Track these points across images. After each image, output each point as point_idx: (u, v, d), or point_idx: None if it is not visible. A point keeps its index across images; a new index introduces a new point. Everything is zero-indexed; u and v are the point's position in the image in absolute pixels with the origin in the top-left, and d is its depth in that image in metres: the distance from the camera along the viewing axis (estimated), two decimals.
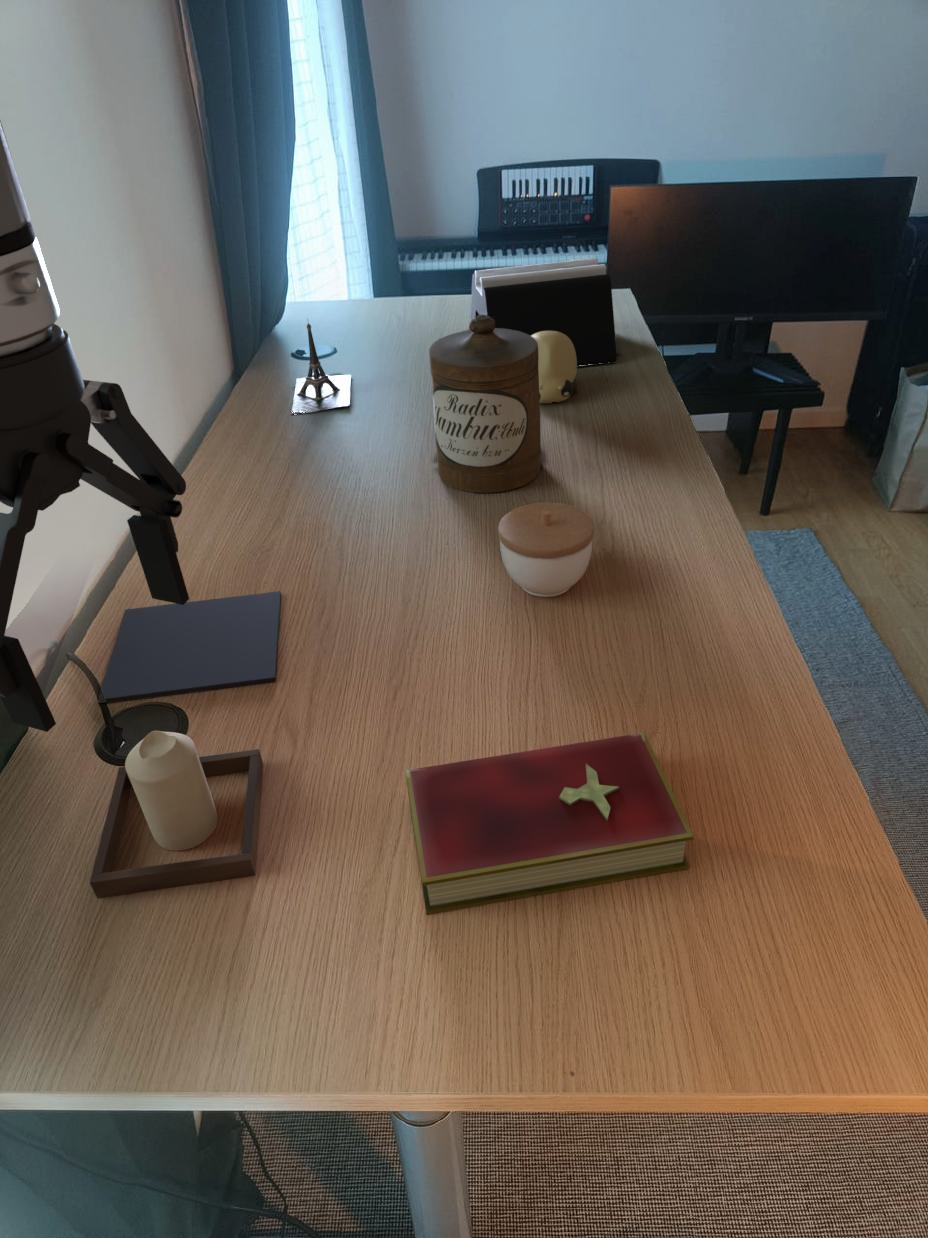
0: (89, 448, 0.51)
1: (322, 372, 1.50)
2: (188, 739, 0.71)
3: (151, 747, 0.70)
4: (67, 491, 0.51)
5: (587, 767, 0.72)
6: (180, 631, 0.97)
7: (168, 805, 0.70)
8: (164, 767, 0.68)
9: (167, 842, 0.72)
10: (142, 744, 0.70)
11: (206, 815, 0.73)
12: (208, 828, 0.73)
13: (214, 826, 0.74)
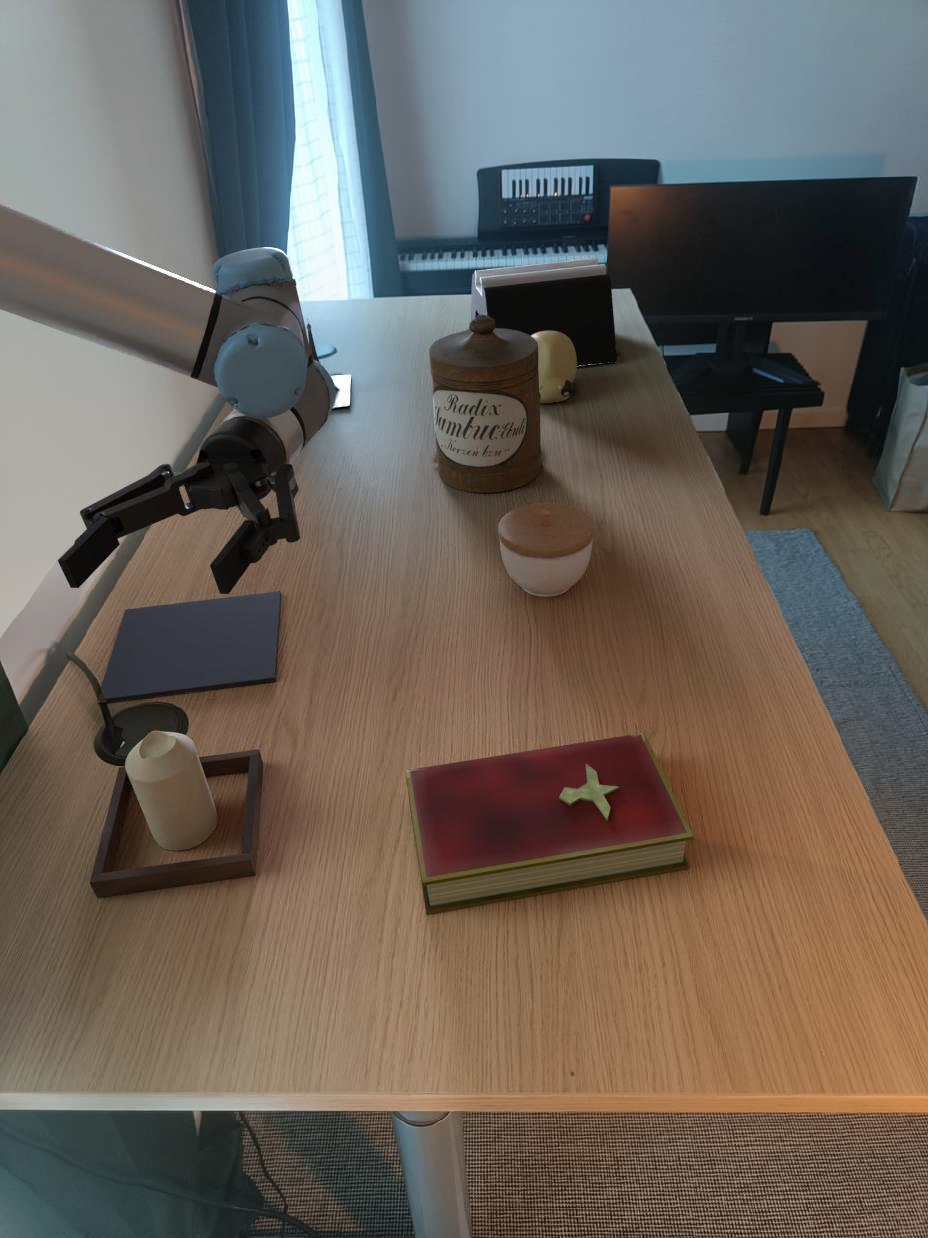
0: None
1: None
2: (188, 739, 0.71)
3: (151, 747, 0.70)
4: (207, 508, 0.78)
5: (587, 767, 0.72)
6: (180, 631, 0.97)
7: (168, 805, 0.70)
8: (164, 767, 0.68)
9: (167, 842, 0.72)
10: (142, 744, 0.70)
11: (206, 815, 0.73)
12: (208, 828, 0.73)
13: (214, 826, 0.74)
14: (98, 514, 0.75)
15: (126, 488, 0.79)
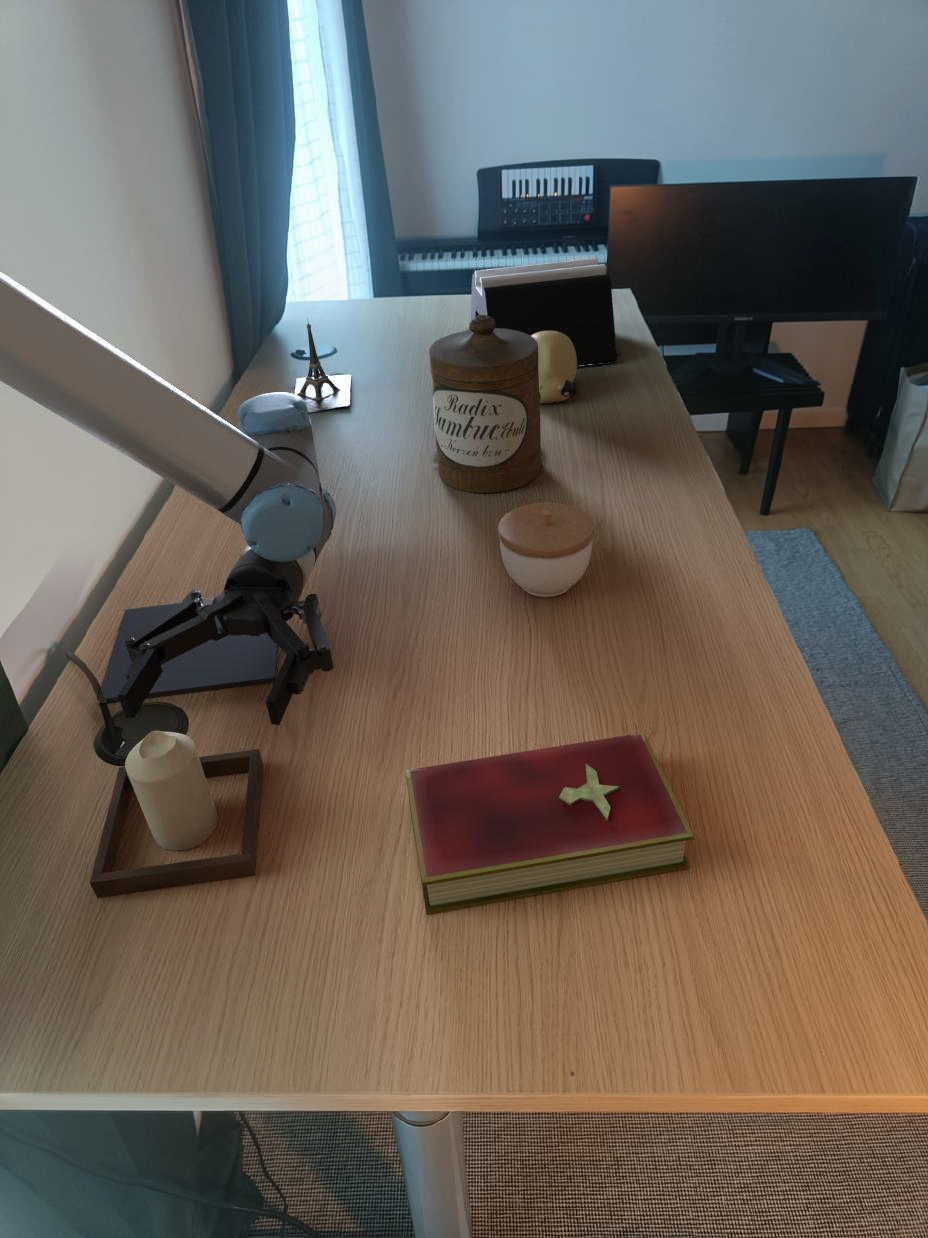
0: None
1: (322, 372, 1.50)
2: (188, 739, 0.71)
3: (151, 747, 0.70)
4: (240, 634, 0.87)
5: (587, 767, 0.72)
6: None
7: (168, 805, 0.70)
8: (164, 767, 0.68)
9: (167, 842, 0.72)
10: (142, 744, 0.70)
11: (206, 815, 0.73)
12: (208, 828, 0.73)
13: (214, 826, 0.74)
14: (144, 645, 0.82)
15: (163, 616, 0.86)
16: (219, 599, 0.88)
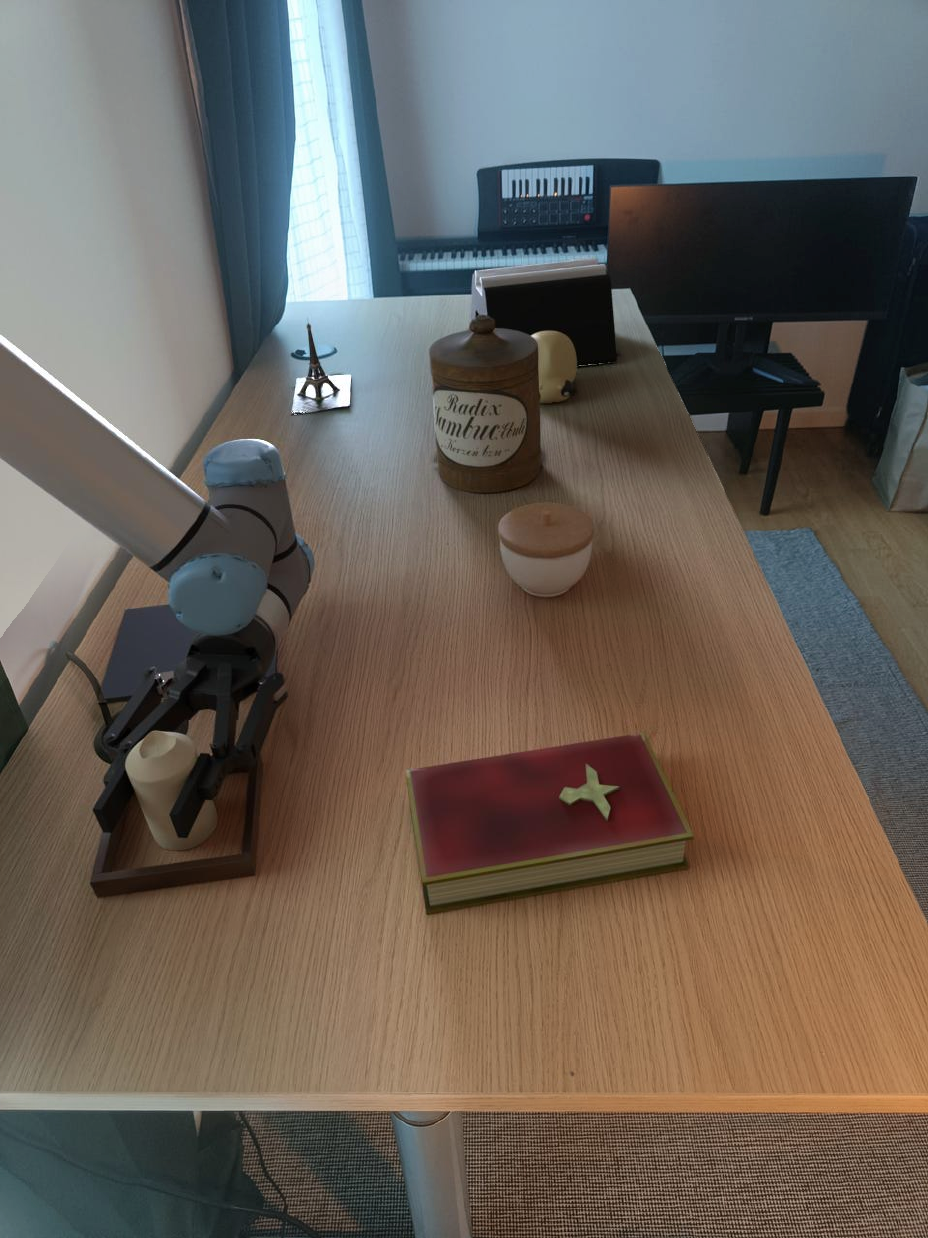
0: None
1: (322, 372, 1.50)
2: (188, 739, 0.71)
3: (151, 747, 0.70)
4: (203, 709, 0.79)
5: (587, 767, 0.72)
6: (180, 631, 0.97)
7: (168, 805, 0.70)
8: (164, 767, 0.68)
9: (167, 842, 0.72)
10: (142, 744, 0.70)
11: (206, 815, 0.73)
12: (208, 828, 0.73)
13: (214, 826, 0.74)
14: (125, 744, 0.72)
15: (131, 703, 0.77)
16: (181, 669, 0.80)
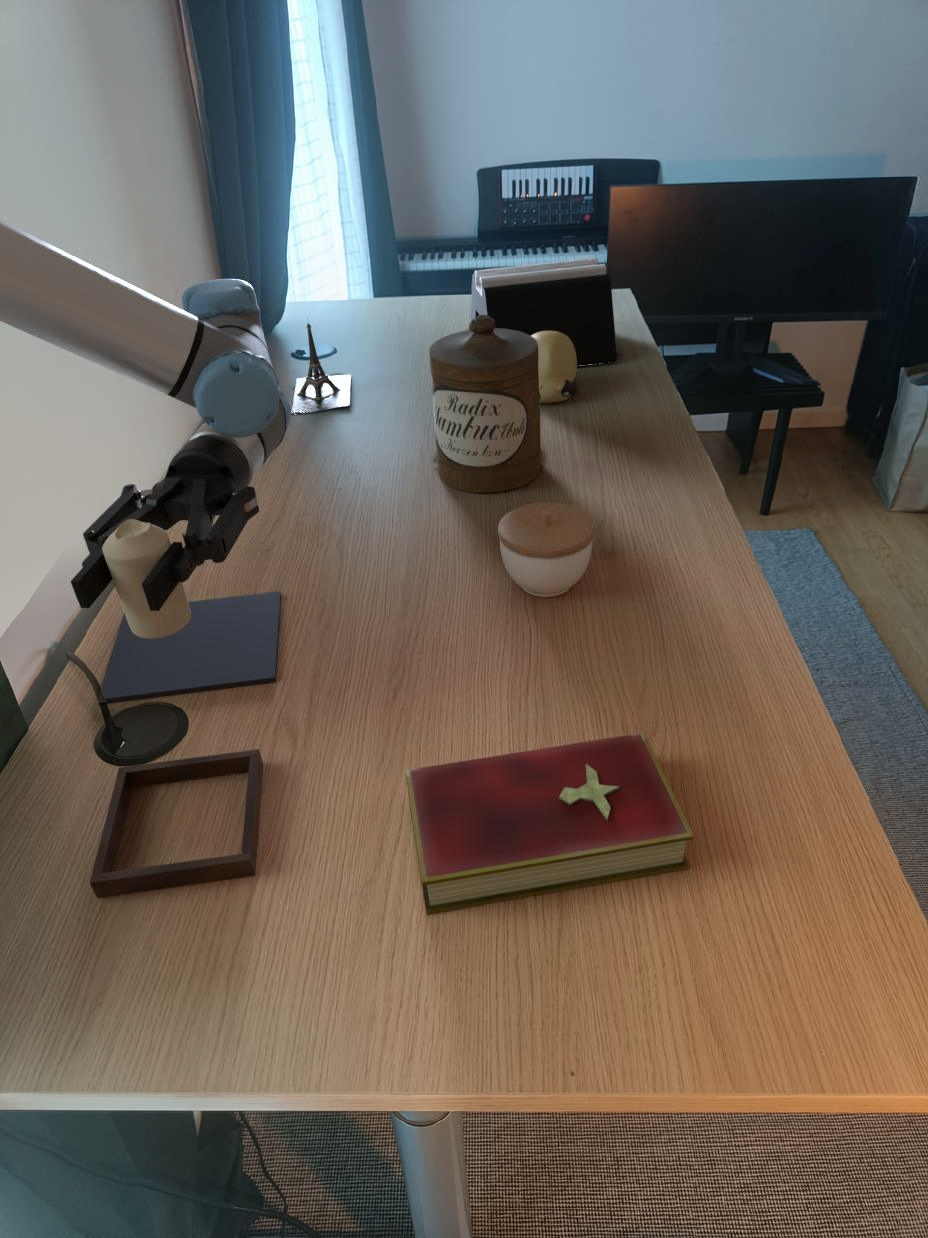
0: None
1: (322, 372, 1.50)
2: (162, 529, 0.76)
3: (127, 533, 0.75)
4: (179, 520, 0.84)
5: (587, 767, 0.72)
6: (180, 631, 0.97)
7: None
8: (138, 546, 0.73)
9: (142, 629, 0.77)
10: (118, 529, 0.75)
11: (179, 605, 0.78)
12: (181, 619, 0.78)
13: (187, 620, 0.79)
14: (104, 536, 0.77)
15: (111, 509, 0.82)
16: (159, 485, 0.85)
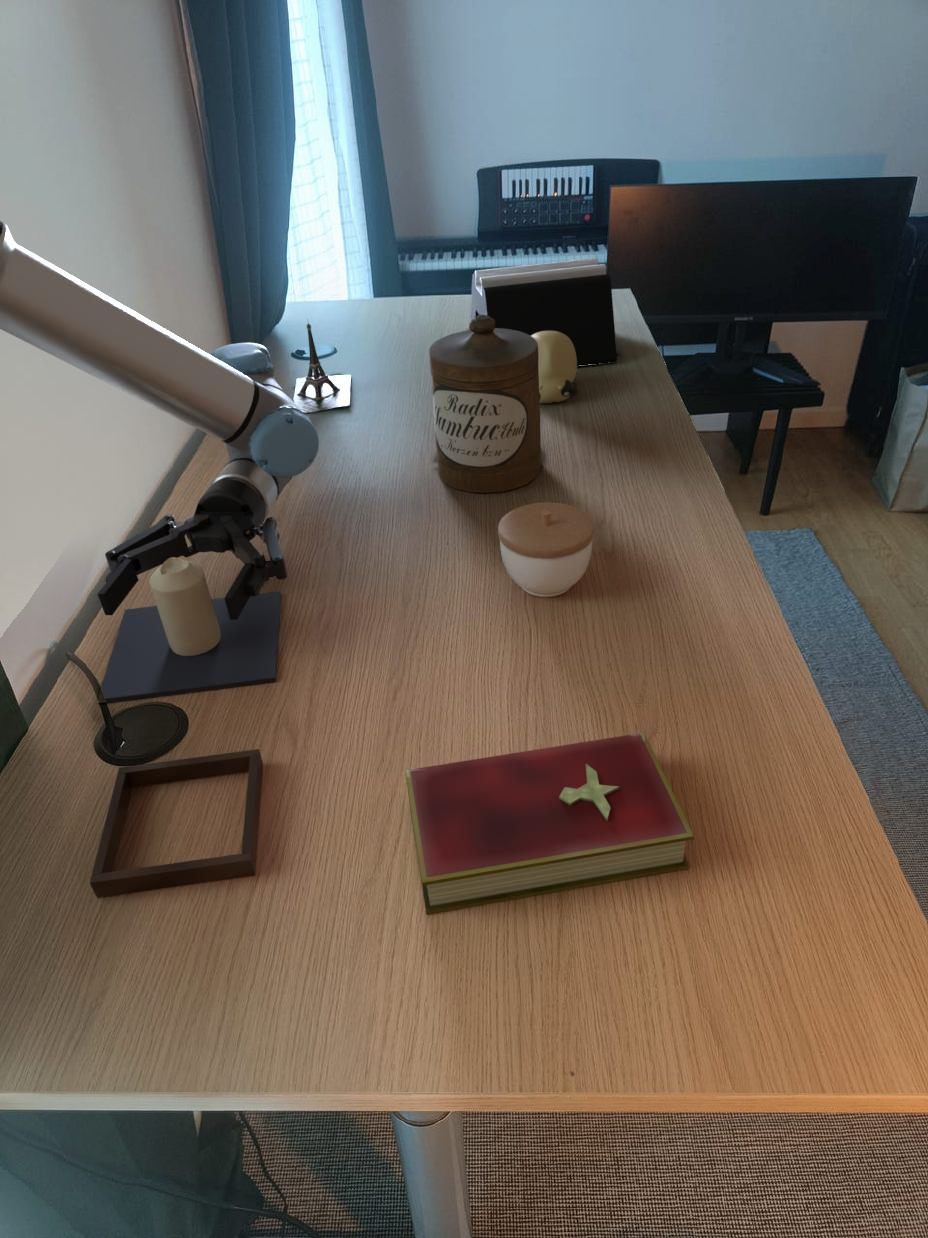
0: None
1: (322, 372, 1.50)
2: (198, 565, 0.91)
3: (170, 569, 0.90)
4: (207, 551, 0.99)
5: (587, 767, 0.72)
6: None
7: (183, 613, 0.90)
8: (180, 581, 0.88)
9: (181, 648, 0.93)
10: (162, 566, 0.90)
11: (211, 627, 0.93)
12: (213, 639, 0.94)
13: (218, 640, 0.95)
14: (122, 556, 0.94)
15: (140, 535, 0.98)
16: (189, 521, 1.00)
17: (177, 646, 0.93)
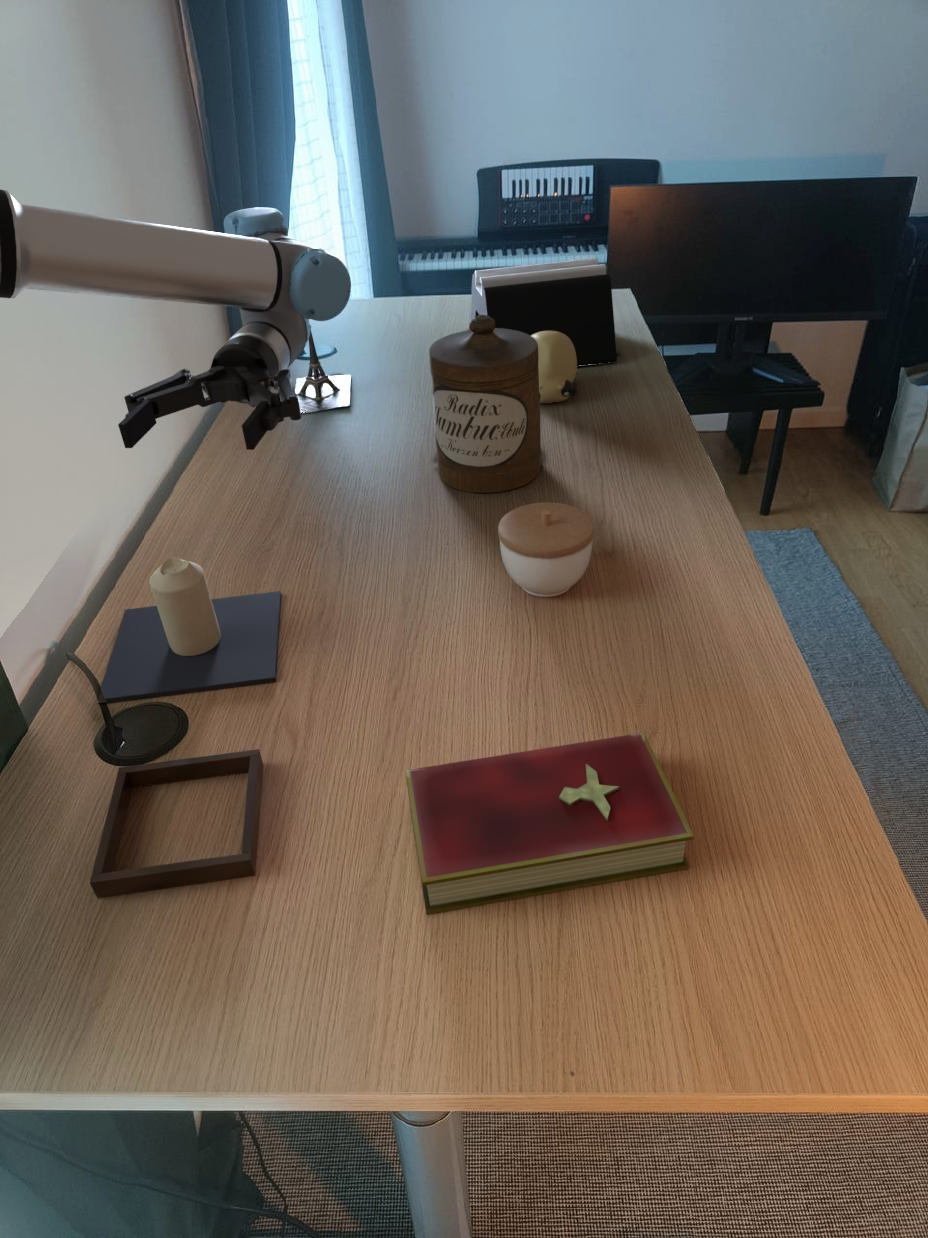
0: None
1: (322, 372, 1.50)
2: (198, 565, 0.91)
3: (169, 569, 0.90)
4: (223, 400, 1.02)
5: (587, 767, 0.72)
6: None
7: (183, 613, 0.90)
8: (180, 581, 0.88)
9: (181, 648, 0.93)
10: (162, 566, 0.90)
11: (211, 627, 0.93)
12: (213, 639, 0.94)
13: (218, 640, 0.95)
14: (141, 398, 0.97)
15: (158, 383, 1.01)
16: None
17: (177, 646, 0.93)
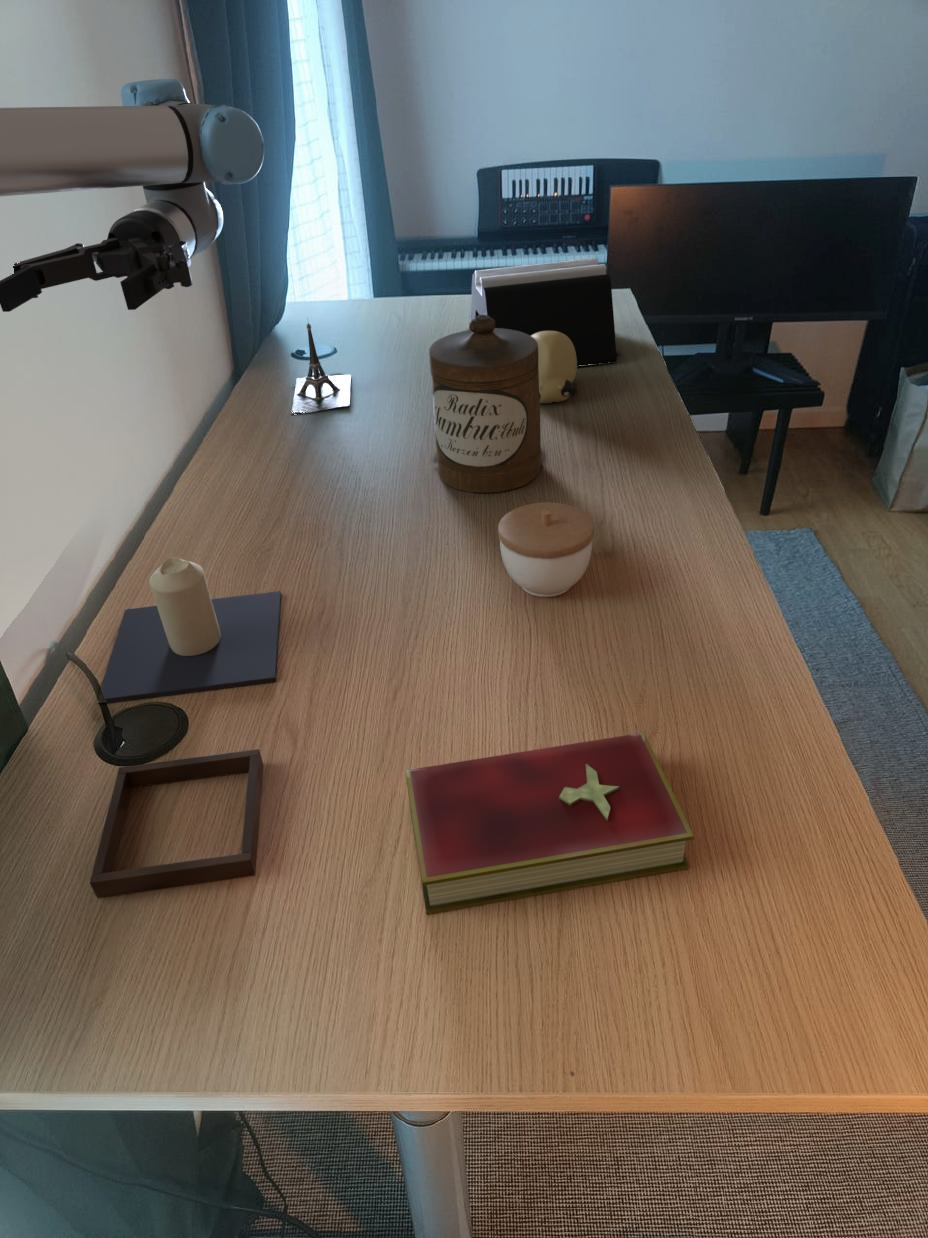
0: None
1: (322, 372, 1.50)
2: (198, 565, 0.91)
3: (169, 569, 0.90)
4: (115, 273, 0.97)
5: (587, 767, 0.72)
6: None
7: (183, 613, 0.90)
8: (180, 581, 0.88)
9: (181, 648, 0.93)
10: (162, 566, 0.90)
11: (211, 627, 0.93)
12: (213, 639, 0.94)
13: (218, 640, 0.95)
14: (24, 265, 0.93)
15: (46, 254, 0.96)
16: None
17: (177, 646, 0.93)
